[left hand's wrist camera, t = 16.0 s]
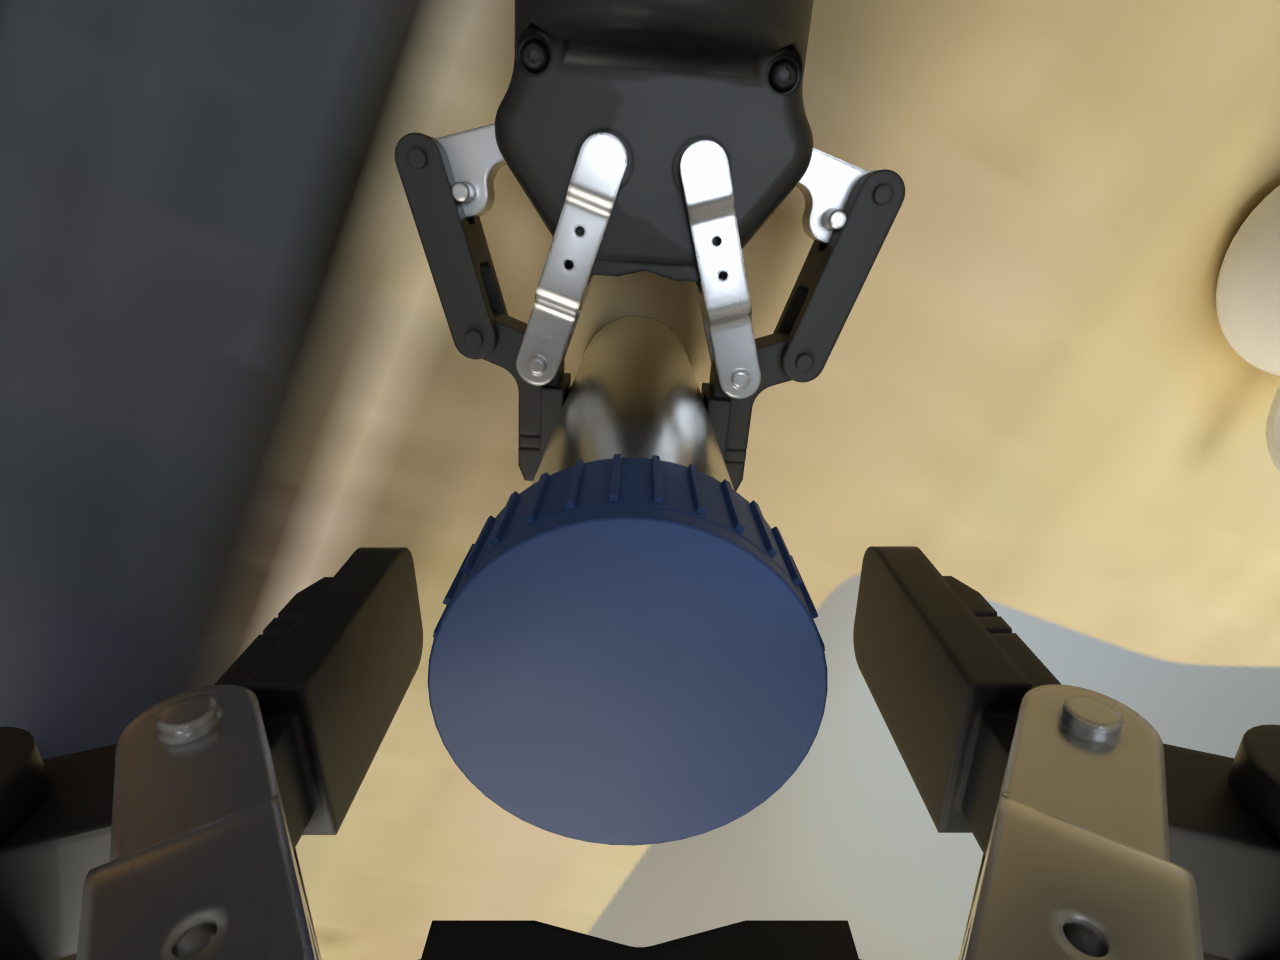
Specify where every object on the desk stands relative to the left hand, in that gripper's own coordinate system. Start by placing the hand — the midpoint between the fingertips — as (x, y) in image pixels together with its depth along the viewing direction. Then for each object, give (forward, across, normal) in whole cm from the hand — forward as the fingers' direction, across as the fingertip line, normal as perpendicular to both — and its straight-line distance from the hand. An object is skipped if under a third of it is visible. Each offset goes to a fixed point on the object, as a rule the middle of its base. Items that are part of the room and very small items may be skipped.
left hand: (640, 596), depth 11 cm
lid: (-2, 0, 0) cm, 2 cm away
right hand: (+11, 0, -3) cm, 11 cm away
